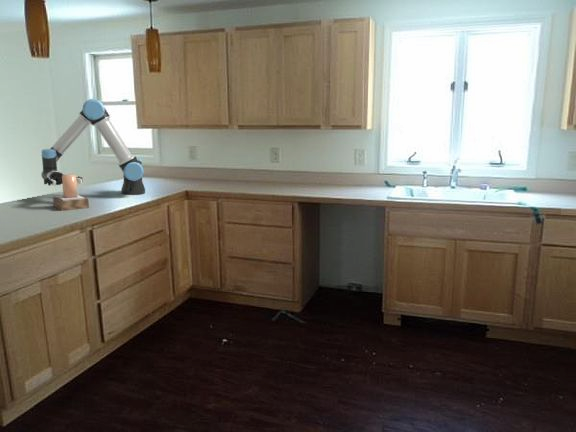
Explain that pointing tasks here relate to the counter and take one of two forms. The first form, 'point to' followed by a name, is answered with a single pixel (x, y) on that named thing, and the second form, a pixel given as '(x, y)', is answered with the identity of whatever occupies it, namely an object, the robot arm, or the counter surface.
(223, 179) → the counter surface
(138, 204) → the counter surface
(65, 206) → the walnut base
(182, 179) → the counter surface
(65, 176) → the peach glossy cylinder
